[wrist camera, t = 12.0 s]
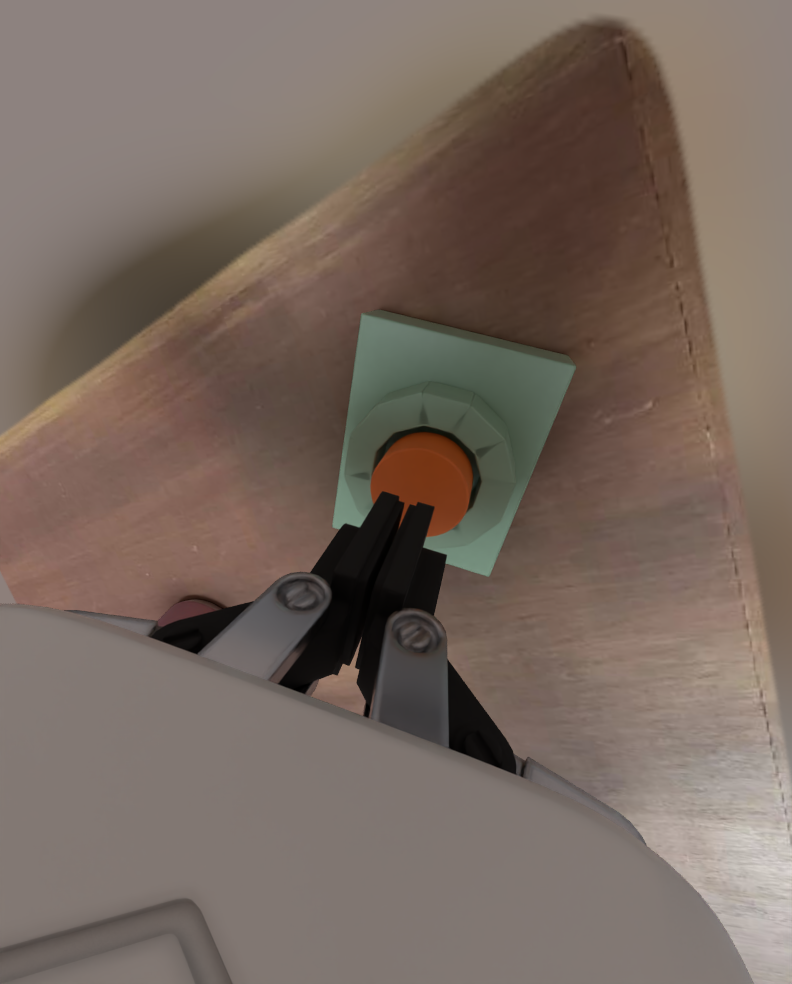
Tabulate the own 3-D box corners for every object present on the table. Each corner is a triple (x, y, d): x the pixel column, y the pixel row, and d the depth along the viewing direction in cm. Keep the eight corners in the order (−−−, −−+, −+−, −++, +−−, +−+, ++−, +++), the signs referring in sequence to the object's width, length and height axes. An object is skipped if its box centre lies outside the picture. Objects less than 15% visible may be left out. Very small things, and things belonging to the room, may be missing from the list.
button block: (377, 308, 17) (343, 316, 13) (569, 355, 16) (585, 376, 12) (347, 506, 22) (316, 548, 18) (490, 550, 21) (487, 604, 17)
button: (391, 420, 15) (378, 435, 14) (485, 446, 15) (482, 465, 13) (376, 500, 17) (362, 521, 15) (458, 525, 16) (453, 550, 15)
